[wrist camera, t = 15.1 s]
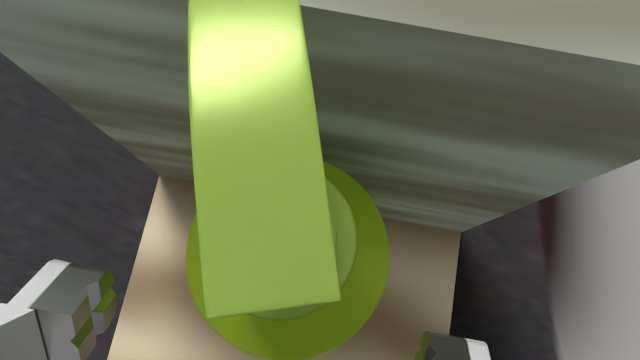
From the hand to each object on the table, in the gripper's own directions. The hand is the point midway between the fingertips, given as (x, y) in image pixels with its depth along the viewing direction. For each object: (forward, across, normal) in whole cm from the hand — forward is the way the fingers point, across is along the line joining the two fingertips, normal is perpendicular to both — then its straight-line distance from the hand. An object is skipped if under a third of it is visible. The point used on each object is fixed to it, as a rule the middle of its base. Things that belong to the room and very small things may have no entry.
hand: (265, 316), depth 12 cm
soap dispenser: (+12, 0, +8) cm, 14 cm away
